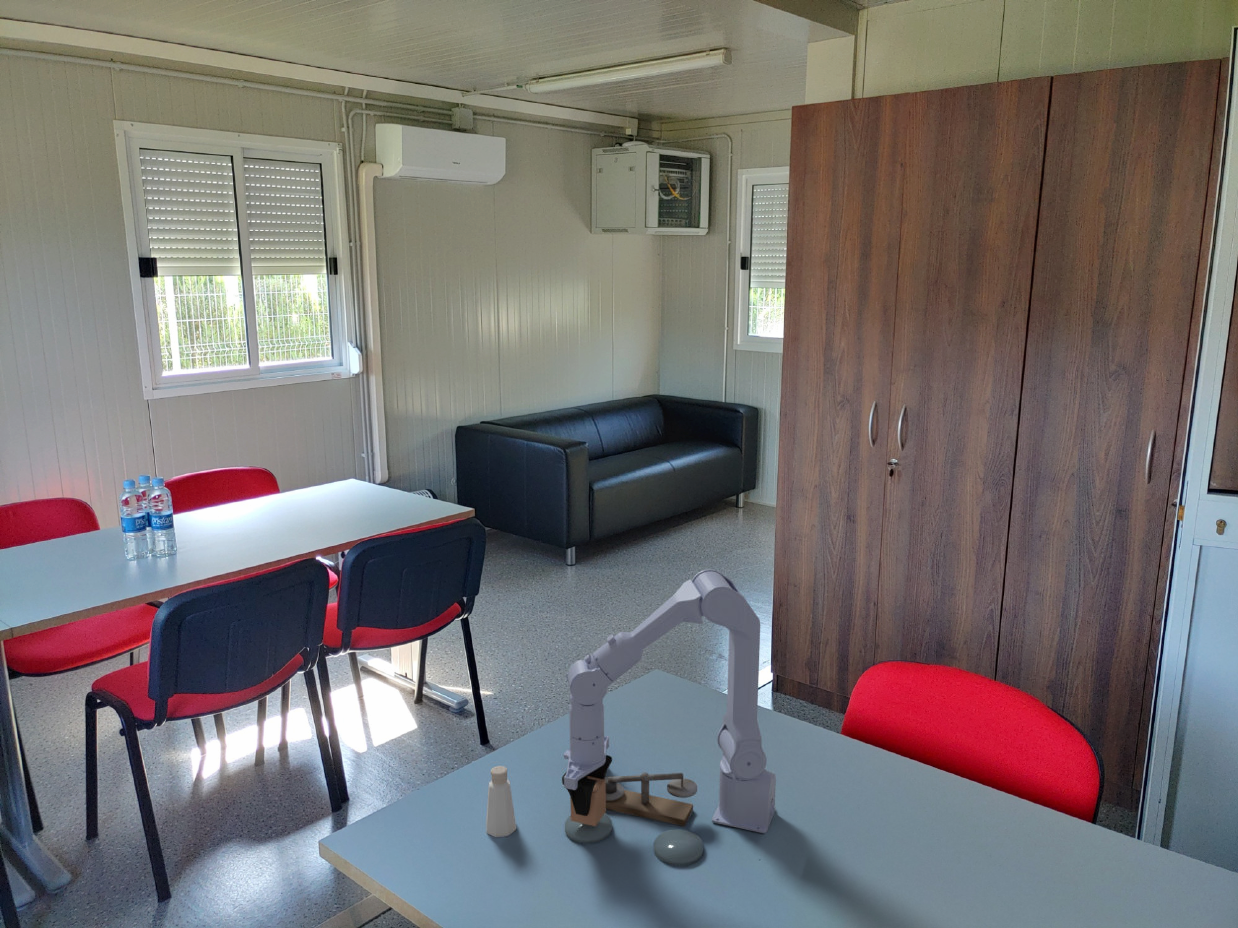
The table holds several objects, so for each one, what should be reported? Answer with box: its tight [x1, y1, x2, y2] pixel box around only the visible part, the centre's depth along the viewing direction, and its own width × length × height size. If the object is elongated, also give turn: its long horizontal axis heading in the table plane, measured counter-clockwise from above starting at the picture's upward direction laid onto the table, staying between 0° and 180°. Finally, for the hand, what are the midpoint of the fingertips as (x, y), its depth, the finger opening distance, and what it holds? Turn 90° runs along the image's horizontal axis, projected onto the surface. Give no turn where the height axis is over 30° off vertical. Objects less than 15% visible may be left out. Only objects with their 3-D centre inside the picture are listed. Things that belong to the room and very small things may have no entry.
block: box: [569, 776, 607, 826], centre depth 156 cm, size 4×4×6 cm
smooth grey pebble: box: [653, 829, 704, 866], centre depth 151 cm, size 8×8×1 cm
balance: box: [604, 772, 698, 827], centre depth 162 cm, size 19×5×8 cm, turn 69°
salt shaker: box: [485, 765, 517, 838], centre depth 156 cm, size 5×5×11 cm
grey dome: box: [564, 813, 613, 844], centre depth 157 cm, size 8×8×1 cm
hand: (588, 805), depth 156 cm, fingers closed on block, 4 cm apart
